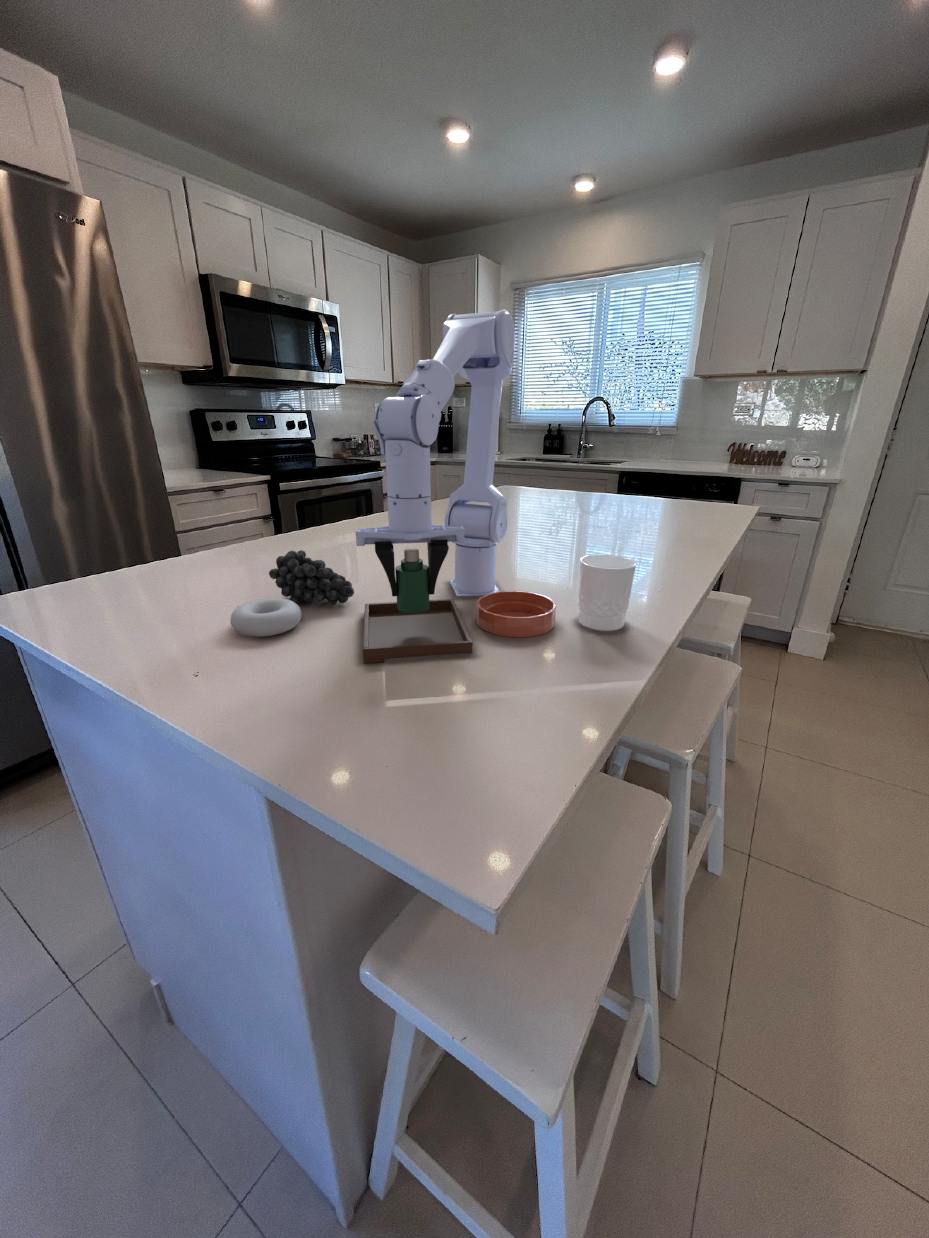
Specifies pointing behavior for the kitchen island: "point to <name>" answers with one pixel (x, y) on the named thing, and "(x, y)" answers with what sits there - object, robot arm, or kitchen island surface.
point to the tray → (413, 631)
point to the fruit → (309, 579)
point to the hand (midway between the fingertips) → (412, 593)
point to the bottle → (412, 583)
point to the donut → (265, 617)
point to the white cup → (605, 591)
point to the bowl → (515, 613)
